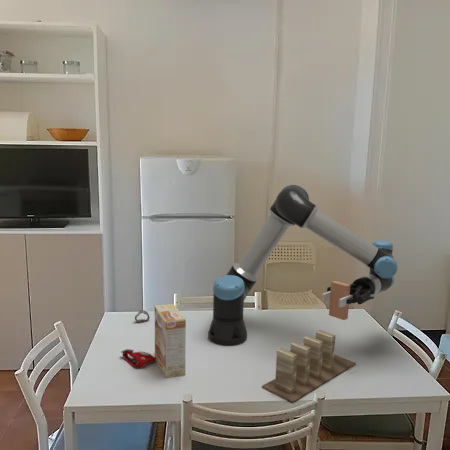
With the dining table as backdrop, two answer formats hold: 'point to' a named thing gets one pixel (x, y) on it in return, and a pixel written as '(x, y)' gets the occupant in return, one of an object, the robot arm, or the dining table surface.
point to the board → (311, 381)
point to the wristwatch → (139, 314)
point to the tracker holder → (138, 358)
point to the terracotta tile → (337, 293)
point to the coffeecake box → (170, 340)
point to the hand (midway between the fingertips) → (331, 300)
